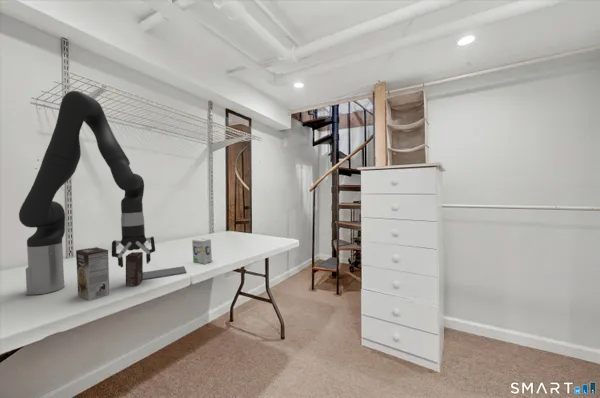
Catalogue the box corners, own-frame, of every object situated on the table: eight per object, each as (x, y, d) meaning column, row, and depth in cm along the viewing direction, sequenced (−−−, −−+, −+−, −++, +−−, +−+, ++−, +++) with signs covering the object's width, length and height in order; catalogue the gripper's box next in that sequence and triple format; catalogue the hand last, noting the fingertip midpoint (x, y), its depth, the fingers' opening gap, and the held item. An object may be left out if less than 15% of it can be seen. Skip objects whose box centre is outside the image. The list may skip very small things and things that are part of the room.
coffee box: (76, 295, 89) (75, 250, 88) (98, 289, 95) (97, 246, 94) (88, 301, 84) (86, 253, 84) (110, 294, 90) (108, 249, 89)
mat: (141, 280, 103) (141, 279, 103) (142, 273, 112) (142, 272, 112) (186, 273, 112) (186, 271, 112) (184, 267, 121) (184, 266, 121)
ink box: (212, 261, 130) (211, 239, 129) (204, 264, 125) (203, 240, 125) (200, 259, 134) (199, 237, 133) (192, 262, 129) (191, 239, 129)
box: (138, 285, 97) (137, 255, 97) (125, 287, 96) (124, 255, 96) (144, 280, 103) (143, 251, 103) (131, 281, 102) (130, 252, 102)
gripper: (108, 226, 92) (111, 270, 93) (153, 223, 99) (155, 264, 100) (111, 224, 99) (114, 265, 99) (153, 221, 106) (155, 259, 106)
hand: (135, 264), depth 99 cm, fingers open, 8 cm apart
